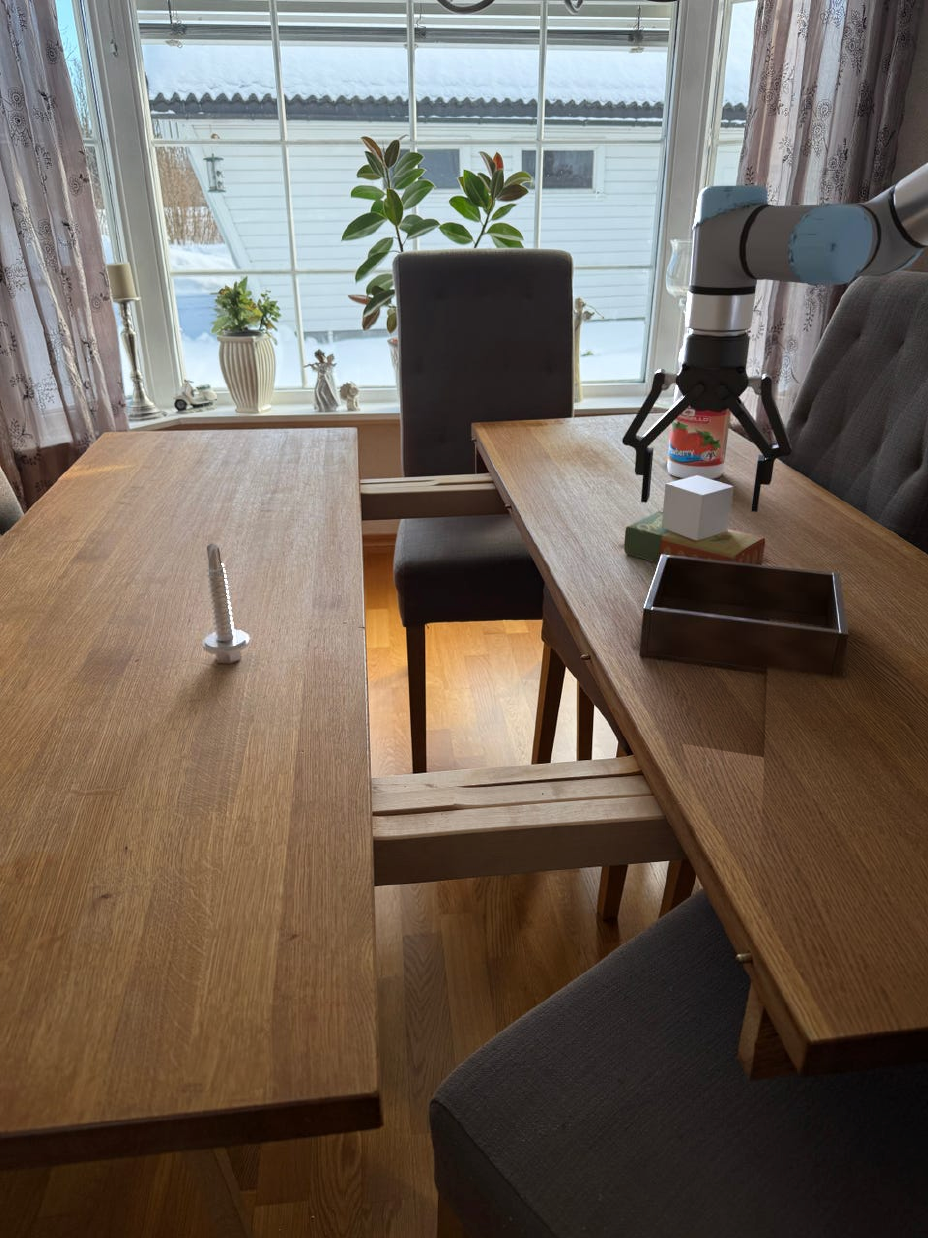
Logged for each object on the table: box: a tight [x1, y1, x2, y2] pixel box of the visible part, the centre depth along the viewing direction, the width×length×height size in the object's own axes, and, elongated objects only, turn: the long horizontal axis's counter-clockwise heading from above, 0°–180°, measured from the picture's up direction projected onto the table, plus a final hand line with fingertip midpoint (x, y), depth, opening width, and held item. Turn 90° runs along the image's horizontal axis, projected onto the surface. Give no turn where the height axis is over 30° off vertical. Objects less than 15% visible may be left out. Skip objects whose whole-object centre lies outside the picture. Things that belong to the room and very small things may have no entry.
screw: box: [201, 542, 251, 665], centre depth 90 cm, size 13×5×5 cm
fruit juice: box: [666, 346, 732, 480], centre depth 145 cm, size 9×9×28 cm
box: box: [638, 554, 849, 677], centre depth 96 cm, size 20×16×6 cm
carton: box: [623, 510, 766, 565], centre depth 116 cm, size 8×16×4 cm, turn 47°
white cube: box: [661, 475, 735, 541], centre depth 113 cm, size 6×6×6 cm
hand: (698, 504), depth 113 cm, fingers open, 13 cm apart
